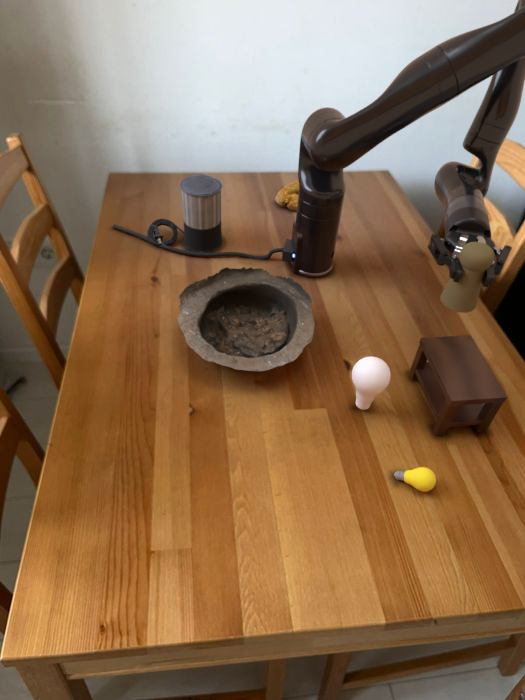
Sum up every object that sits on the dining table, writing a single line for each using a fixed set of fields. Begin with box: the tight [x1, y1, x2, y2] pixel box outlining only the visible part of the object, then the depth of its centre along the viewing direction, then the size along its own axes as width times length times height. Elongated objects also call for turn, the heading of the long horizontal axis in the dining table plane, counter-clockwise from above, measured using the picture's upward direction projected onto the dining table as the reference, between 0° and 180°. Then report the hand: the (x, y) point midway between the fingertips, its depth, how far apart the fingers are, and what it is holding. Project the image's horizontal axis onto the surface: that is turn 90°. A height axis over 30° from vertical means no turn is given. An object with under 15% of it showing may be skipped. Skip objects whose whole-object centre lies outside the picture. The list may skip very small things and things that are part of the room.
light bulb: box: [393, 466, 437, 492], centre depth 76 cm, size 3×6×4 cm, turn 70°
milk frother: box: [146, 173, 224, 253], centre depth 115 cm, size 14×16×15 cm
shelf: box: [408, 334, 508, 436], centre depth 86 cm, size 9×14×9 cm, turn 7°
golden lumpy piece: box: [274, 180, 299, 212], centre depth 134 cm, size 10×11×5 cm
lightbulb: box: [351, 356, 392, 411], centre depth 84 cm, size 6×6×11 cm
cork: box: [439, 242, 495, 314], centre depth 84 cm, size 6×6×11 cm
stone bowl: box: [177, 266, 316, 372], centre depth 94 cm, size 25×25×9 cm
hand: (472, 280), depth 82 cm, fingers closed on cork, 4 cm apart
